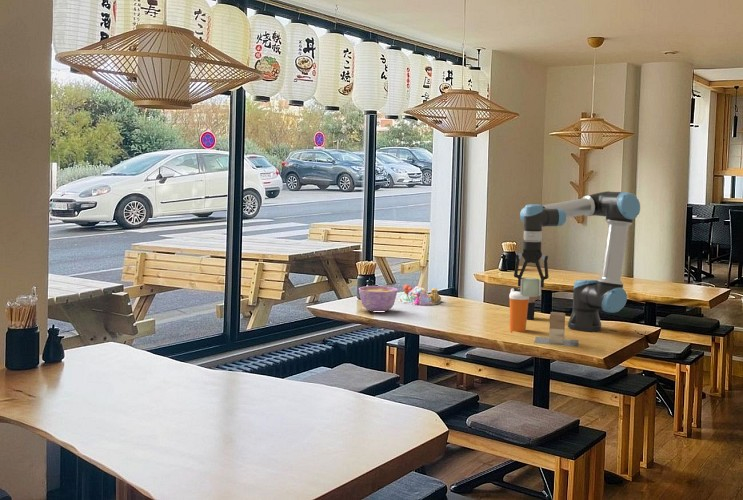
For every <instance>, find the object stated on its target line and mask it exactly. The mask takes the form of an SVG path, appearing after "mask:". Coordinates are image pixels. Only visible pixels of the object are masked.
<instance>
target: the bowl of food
mask: <svg viewBox="0 0 743 500" xmlns="http://www.w3.org/2000/svg"><path fill="white" fill-rule="evenodd" d="M358 293H359V296H360V297H359V298H360V301H361V305H362V306H363V308H364V309H366V310H368V311H370V310H371V311H389V310H391V309H392V308H393V306H394V305H395V301H396V299H397V298H396V297H397V294H398V288H396V287H392V286H387V285H385V286H384V285H366V286H361V287H359V288H358Z"/></svg>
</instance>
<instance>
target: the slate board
mask: <svg viewBox="0 0 743 500" xmlns="http://www.w3.org/2000/svg"><path fill="white" fill-rule="evenodd" d="M533 343H534V344H540V345H553V346H564V347H577V348H578V347H579V340H578V339H568V338H564V343H563V344H562V343H550V342H549V337H543V336H535V338H534V341H533Z"/></svg>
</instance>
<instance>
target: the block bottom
mask: <svg viewBox="0 0 743 500" xmlns="http://www.w3.org/2000/svg"><path fill="white" fill-rule="evenodd" d="M548 330H549V331H548V333H549V334H548V338H549V342H550V343H562V344H563V343H564V339H565V332H566V331H565V330H566V328H564V330H563V329H550V327H549V329H548Z"/></svg>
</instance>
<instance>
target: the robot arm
mask: <svg viewBox="0 0 743 500" xmlns="http://www.w3.org/2000/svg"><path fill="white" fill-rule="evenodd" d="M640 212H641V202H640V200H639V199H638V197H637V195H635V193H632V192H626V191H600V192H596V193H591V194H589V195H584V196H582V198H578V199H571V200H566V201H560V202H555V203H548V204H539V203H537V204H529V203H528V204H526V205H525V206H524V207H523V208H522V209H521V210H520V213H519V219H520V221H521V222H522V223H523V237H522V238H523V240H524V241H523V243H522V244H523V245H522V247H523V248H522V252H521V253H516V254H515V265H514V267H515V268H514V272H513V277H514V278H517V286H518V287H520V286H521V287H520V288H519V289H520V294H521V295H522V285H523V279H522V278H523V275H524V273H525V270H526V267H527V266H528V264H530V263H532V264H535V266H536V269H537V271H538V275H539V296H541V295H542V288H544V287H545V280H548V279H549V277H550V275H549V266H548V265H549V264H548V259H549V255H547V254H546V255H545V254H543V253H542V242H541V241H542V239H543V237H542V236H543V235H542V234H543V228H544V227H561V226H563V225H565V223H566V221H567V219H569V218H574V217H580V216H586V217H591V216H592V217H593V216H597V217H605V222H606V224H607V231H606V240H605V245H604V252H603V259H602V266H601V271H600V272H601V273H600V277H598V279H579V280H575V281H574V285H573V289H572V290H573V292H572V293H573V294H572V295H573V296H572V312H571V314H570V317H569V319H568V321H567V328H568V329H571V330H574V331H579V332H580V331H581V332H599V331H601V330H602V322H601V318H600V314H599V311H603V312H606V313H613V314H614V313H618V312H620V311H621V310H622V309H623V308H624V307H625V305H626V303H627V301H628V293H627V291H626V290H625V288H624V282H623V281H622V280H621V278H622V272H623V271H622V270H623V265H624V257H625V251H626V243H627V237H628V231H629V227H630V226H631V225H633V220H634V219H636V218H637V217H638V216H639V215H640ZM522 258H523V259H524V262H523V265H522V267H521V269H520V271H519V267H520V259H522ZM541 258H542V260H543V265H544V266H543V267H544V268H543V269H544V273H543V269H542V268H541V264H540V259H541ZM539 296H538V297H539Z"/></svg>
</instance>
